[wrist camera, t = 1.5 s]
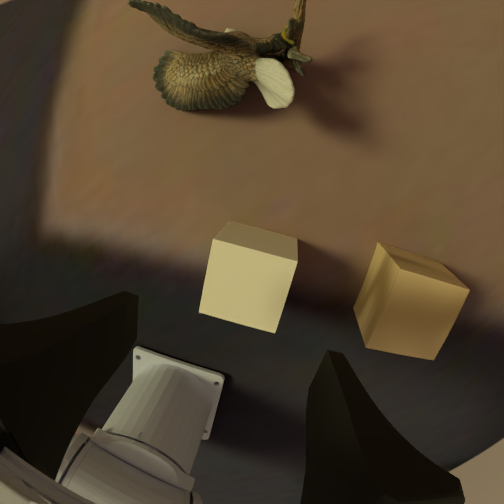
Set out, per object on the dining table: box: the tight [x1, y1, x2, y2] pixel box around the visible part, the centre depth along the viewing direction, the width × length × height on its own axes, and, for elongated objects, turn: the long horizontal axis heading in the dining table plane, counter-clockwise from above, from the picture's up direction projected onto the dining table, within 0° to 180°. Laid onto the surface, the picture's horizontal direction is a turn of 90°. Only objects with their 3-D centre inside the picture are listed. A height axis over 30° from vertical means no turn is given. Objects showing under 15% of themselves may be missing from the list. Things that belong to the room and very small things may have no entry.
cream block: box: [199, 221, 298, 333], centre depth 19 cm, size 4×4×4 cm
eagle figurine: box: [128, 0, 312, 111], centre depth 14 cm, size 8×8×10 cm
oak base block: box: [353, 242, 470, 360], centre depth 18 cm, size 5×5×5 cm
